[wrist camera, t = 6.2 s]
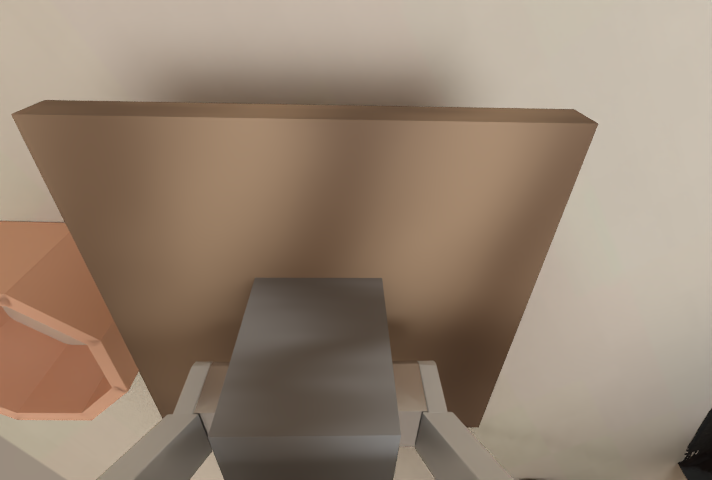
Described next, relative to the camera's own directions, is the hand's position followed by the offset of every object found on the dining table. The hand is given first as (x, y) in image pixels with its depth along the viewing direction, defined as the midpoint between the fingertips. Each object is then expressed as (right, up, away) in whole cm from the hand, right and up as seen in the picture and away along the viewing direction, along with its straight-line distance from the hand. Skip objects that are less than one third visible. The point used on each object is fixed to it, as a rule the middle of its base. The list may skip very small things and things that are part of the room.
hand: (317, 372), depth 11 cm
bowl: (-18, +1, +14) cm, 23 cm away
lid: (0, +2, +3) cm, 3 cm away
